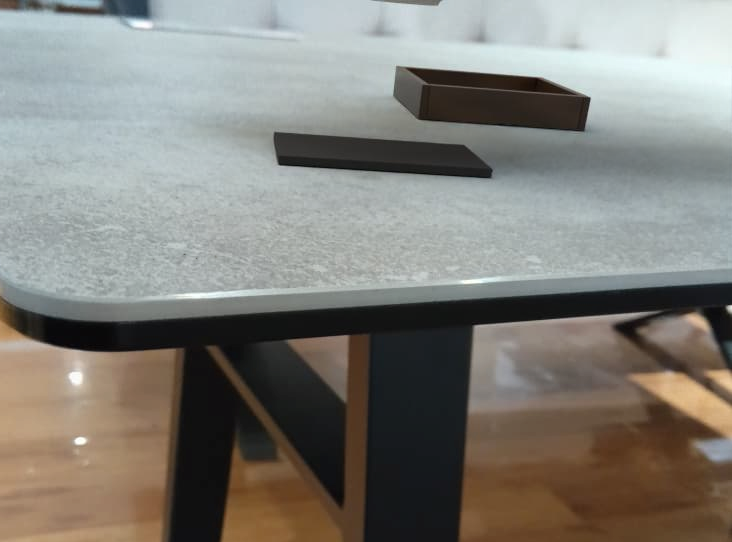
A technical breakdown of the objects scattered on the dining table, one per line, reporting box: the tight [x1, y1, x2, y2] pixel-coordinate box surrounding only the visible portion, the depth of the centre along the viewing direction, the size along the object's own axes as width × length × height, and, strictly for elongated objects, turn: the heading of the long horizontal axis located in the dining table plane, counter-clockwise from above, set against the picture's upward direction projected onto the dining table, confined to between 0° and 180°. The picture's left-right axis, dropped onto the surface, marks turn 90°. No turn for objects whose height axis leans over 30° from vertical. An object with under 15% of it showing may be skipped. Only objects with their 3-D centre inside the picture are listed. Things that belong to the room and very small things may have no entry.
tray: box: [392, 65, 592, 131], centre depth 73 cm, size 13×12×2 cm
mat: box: [272, 131, 494, 178], centre depth 52 cm, size 12×7×1 cm, turn 96°
